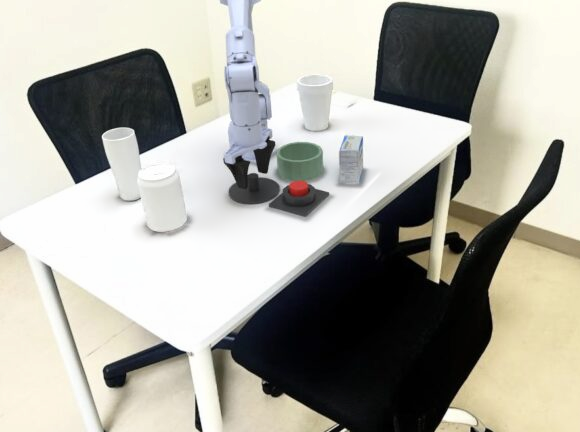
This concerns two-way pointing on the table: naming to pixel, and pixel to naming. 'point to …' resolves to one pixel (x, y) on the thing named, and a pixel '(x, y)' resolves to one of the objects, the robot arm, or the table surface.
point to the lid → (255, 190)
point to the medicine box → (351, 159)
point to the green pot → (300, 161)
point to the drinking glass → (123, 160)
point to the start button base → (299, 201)
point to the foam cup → (315, 100)
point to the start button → (298, 188)
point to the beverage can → (162, 197)
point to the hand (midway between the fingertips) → (253, 179)
